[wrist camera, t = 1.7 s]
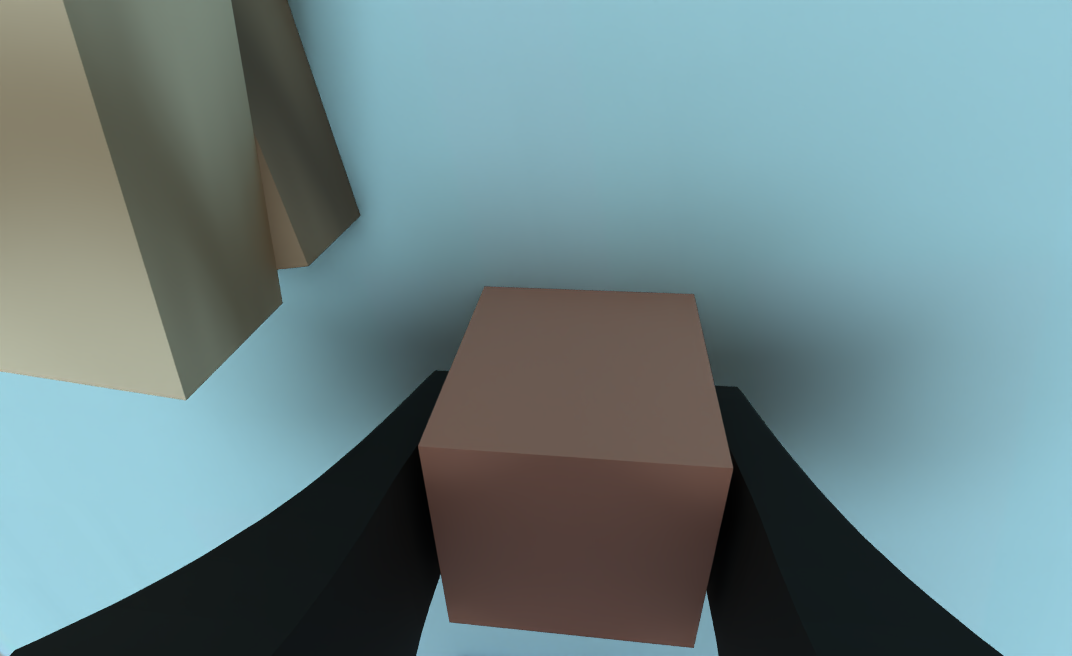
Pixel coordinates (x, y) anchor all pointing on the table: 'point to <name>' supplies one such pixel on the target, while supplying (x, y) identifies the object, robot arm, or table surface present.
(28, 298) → the tower top
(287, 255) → the tower base
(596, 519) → the block
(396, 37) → the table surface
